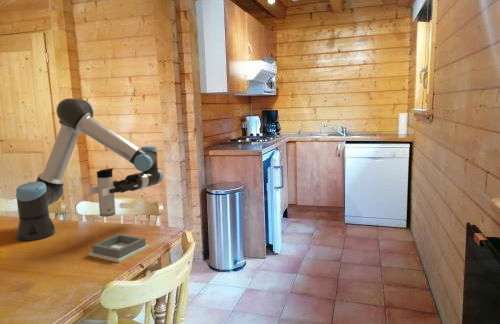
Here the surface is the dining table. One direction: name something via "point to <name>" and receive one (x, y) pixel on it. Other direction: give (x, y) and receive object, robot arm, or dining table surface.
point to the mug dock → (118, 247)
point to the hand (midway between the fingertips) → (96, 192)
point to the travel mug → (106, 201)
